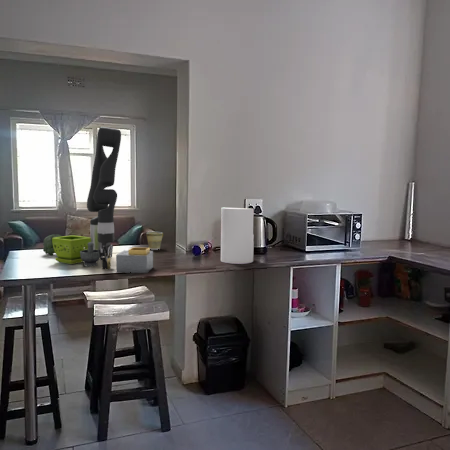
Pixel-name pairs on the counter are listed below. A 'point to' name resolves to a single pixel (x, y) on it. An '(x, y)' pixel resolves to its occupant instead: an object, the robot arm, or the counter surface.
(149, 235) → the ceramic cup
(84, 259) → the mortar and pestle
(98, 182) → the robot arm
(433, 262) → the counter surface
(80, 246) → the flower pot
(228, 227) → the cylinder
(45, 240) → the vegetable
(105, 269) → the pellet
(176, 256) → the counter surface
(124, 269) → the grey box
